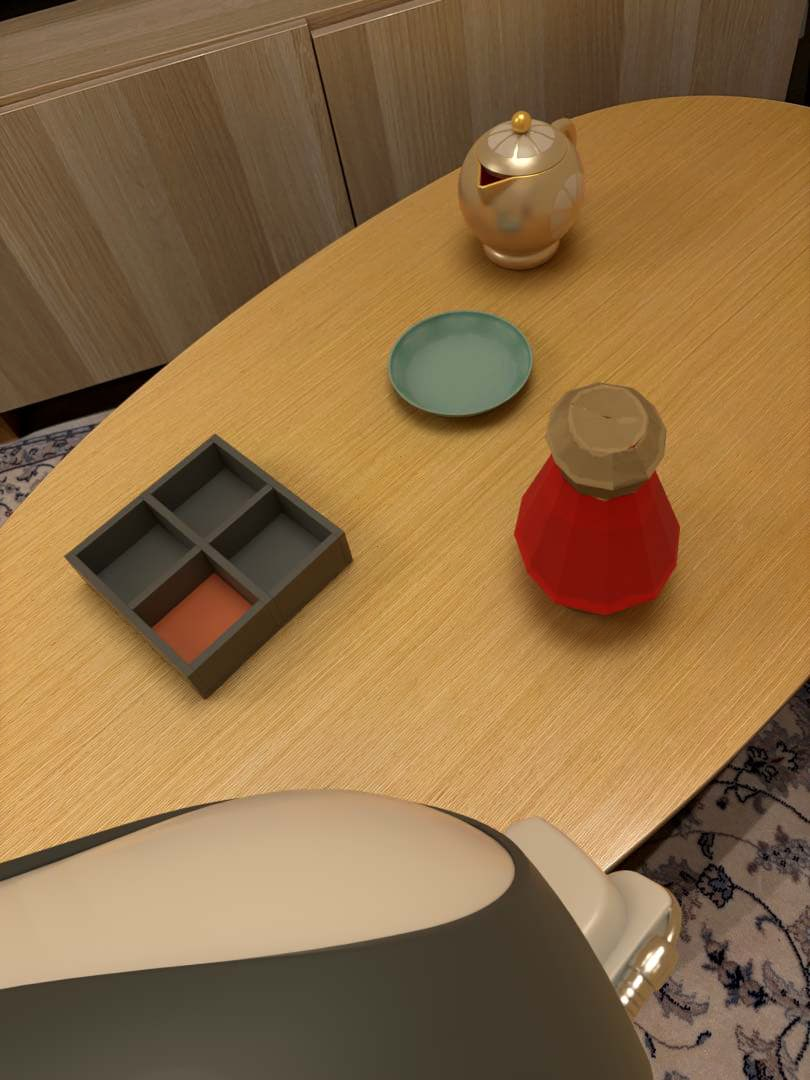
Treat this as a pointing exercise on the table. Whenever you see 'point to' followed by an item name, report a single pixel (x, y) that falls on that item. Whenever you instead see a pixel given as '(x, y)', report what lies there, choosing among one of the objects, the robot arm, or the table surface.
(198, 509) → the tray
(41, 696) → the table surface
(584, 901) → the robot arm
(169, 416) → the table surface
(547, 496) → the bottle
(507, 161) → the teapot
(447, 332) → the saucer
